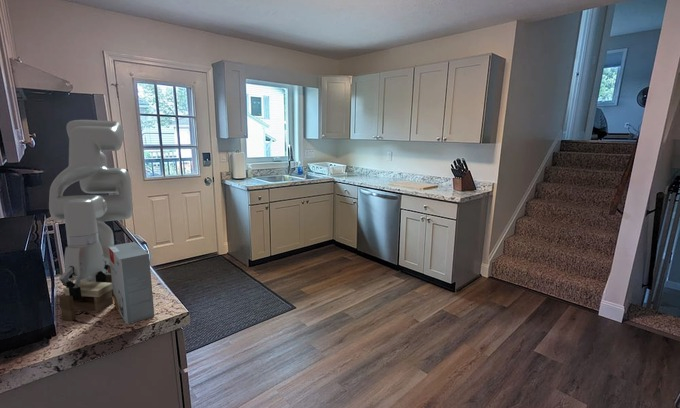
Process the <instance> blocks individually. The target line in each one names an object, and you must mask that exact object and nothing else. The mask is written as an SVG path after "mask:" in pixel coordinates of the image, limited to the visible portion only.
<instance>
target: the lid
mask: <svg viewBox="0 0 680 408" xmlns="http://www.w3.org/2000/svg"><path fill="white" fill-rule="evenodd" d="M78 287H80V288H81V296H89V297H100V296H101V295H103V294H105V293H107V292H109V291H110V290H112V289H113V287H112V283H107V282H90V281H80V284H79V286H78ZM63 291H64V296H67V295H70V294H69V288H66V287H65V288H63Z"/></svg>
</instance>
